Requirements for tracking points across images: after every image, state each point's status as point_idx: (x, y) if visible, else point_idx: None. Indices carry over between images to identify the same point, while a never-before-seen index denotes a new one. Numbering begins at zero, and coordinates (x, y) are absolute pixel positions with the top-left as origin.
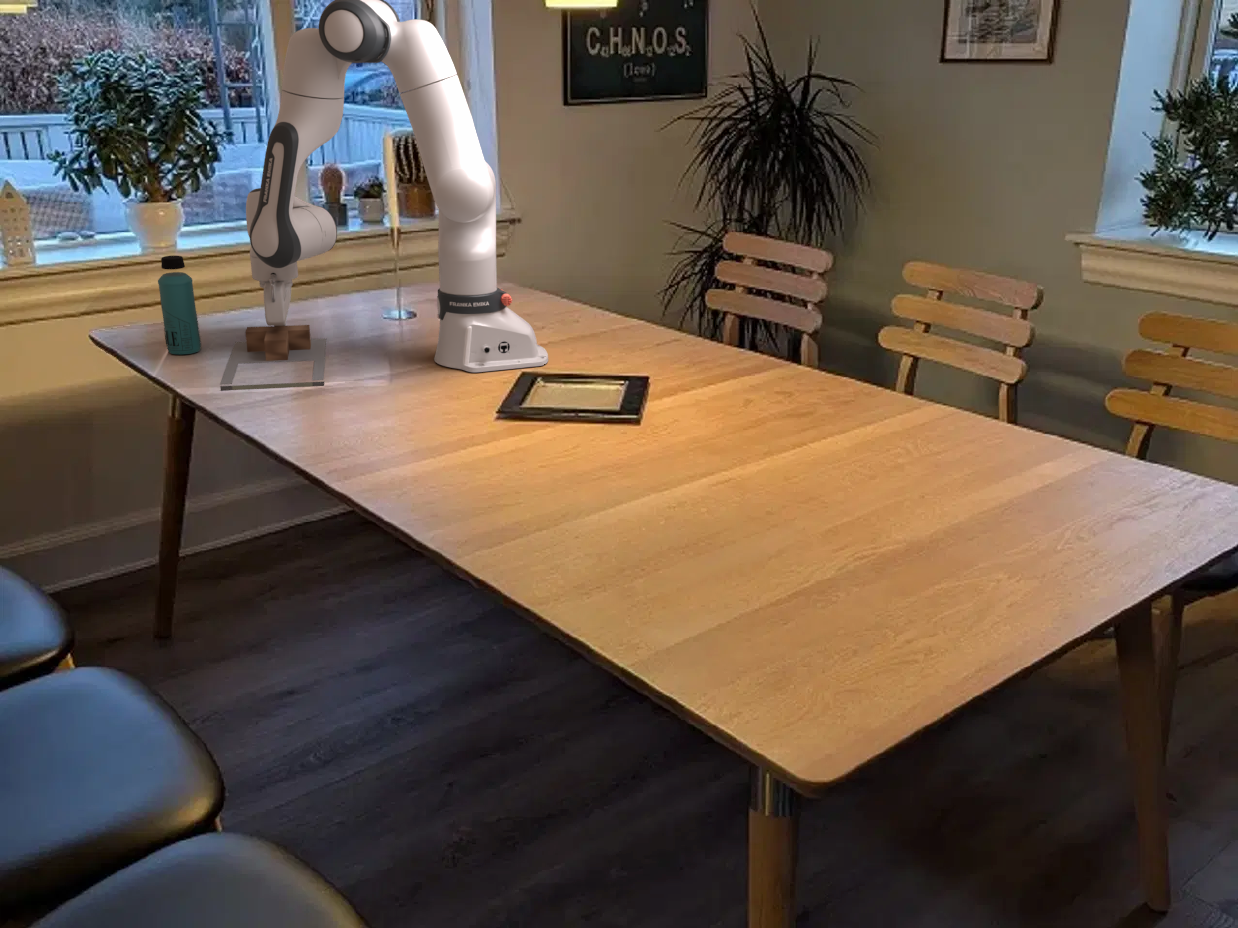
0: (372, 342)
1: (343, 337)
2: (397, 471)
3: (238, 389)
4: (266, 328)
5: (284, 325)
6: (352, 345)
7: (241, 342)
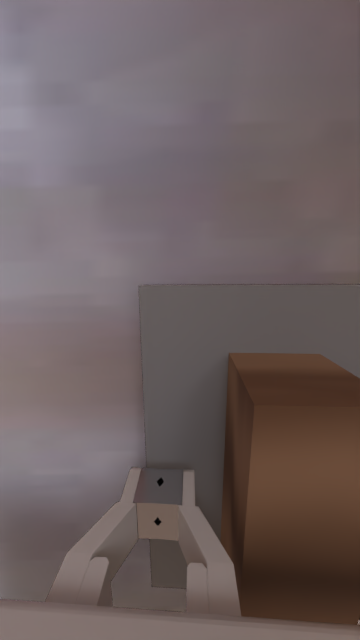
0: (133, 53)
1: (36, 214)
2: None
3: None
4: (288, 618)
5: (202, 531)
6: (177, 166)
7: (162, 572)
